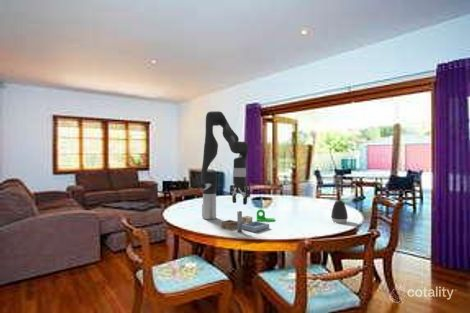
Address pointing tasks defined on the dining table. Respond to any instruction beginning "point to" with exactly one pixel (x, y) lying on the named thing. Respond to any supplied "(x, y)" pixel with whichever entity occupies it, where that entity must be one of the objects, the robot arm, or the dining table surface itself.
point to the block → (246, 219)
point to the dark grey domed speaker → (339, 212)
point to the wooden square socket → (229, 224)
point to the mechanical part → (263, 217)
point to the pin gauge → (239, 221)
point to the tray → (255, 226)
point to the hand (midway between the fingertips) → (239, 203)
